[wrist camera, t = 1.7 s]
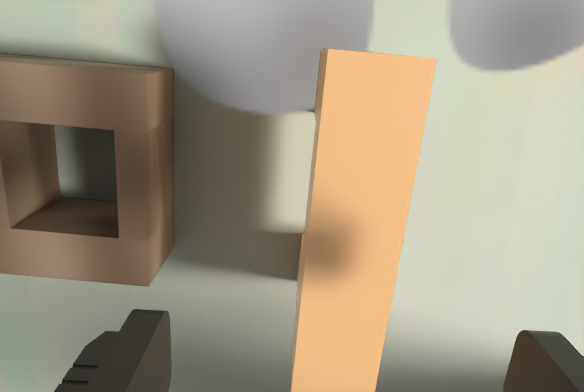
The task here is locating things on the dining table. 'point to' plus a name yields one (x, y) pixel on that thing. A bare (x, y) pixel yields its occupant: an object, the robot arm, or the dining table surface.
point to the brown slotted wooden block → (44, 173)
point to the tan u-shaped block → (356, 214)
